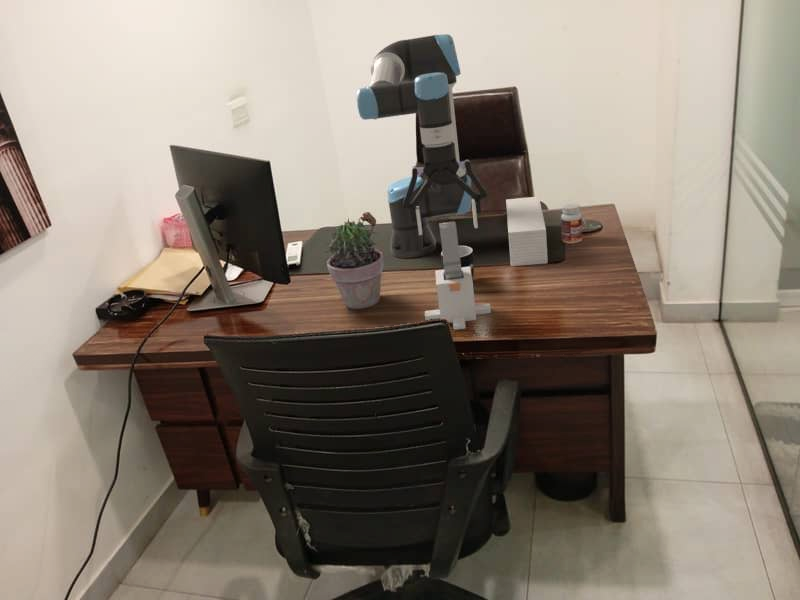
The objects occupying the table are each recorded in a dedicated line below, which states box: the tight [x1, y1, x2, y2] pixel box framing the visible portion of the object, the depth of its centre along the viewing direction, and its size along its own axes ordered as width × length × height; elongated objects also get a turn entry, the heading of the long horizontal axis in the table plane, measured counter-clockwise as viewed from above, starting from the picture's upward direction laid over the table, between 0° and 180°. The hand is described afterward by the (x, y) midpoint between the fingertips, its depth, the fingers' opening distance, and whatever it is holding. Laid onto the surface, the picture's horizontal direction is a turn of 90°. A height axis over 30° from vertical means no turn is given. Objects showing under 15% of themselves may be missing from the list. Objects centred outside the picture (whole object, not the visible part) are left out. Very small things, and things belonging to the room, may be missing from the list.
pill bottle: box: [560, 202, 583, 245], centre depth 207 cm, size 6×6×11 cm
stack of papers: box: [505, 196, 548, 267], centre depth 209 cm, size 32×11×11 cm, turn 173°
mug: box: [440, 245, 475, 281], centre depth 190 cm, size 12×9×10 cm
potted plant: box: [320, 211, 387, 310], centre depth 184 cm, size 18×20×25 cm
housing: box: [424, 266, 492, 331], centre depth 172 cm, size 17×17×11 cm
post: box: [439, 221, 462, 280], centre depth 169 cm, size 4×4×24 cm
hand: (448, 230), depth 164 cm, fingers open, 13 cm apart
